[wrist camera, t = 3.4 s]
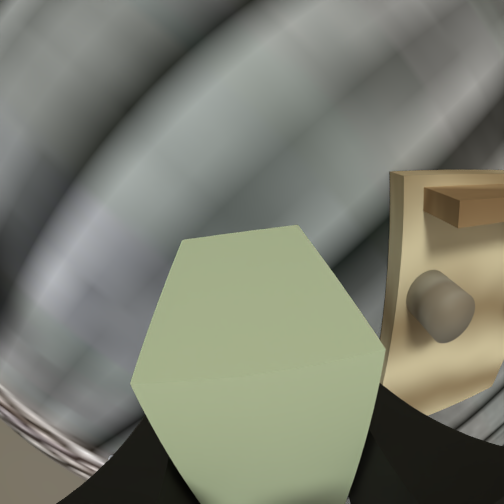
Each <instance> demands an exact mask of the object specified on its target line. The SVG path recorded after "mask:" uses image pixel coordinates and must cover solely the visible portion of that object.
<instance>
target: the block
mask: <svg viewBox="0 0 504 504" xmlns="http://www.w3.org/2000/svg"><path fill="white" fill-rule="evenodd" d="M385 351H386V349H385V347H384V346H383V344H382V343H381V341H380V340H379V338H378V337H377V335H376V334H375V332H374V331H373V329H372V328H371V326H370V325H369V324H368V322H367V321H366V319H365V318H364V316H363V315H362V313H361V312H360V310H359V309H358V308H357V306H356V305H355V303H354V302H353V300H352V299H351V297H350V296H349V295H348V293H347V292H346V290H345V289H344V288H343V286H342V285H341V283H340V282H339V280H338V279H337V278H336V276H335V275H334V274H333V272H332V271H331V269H330V268H329V267H328V265H327V264H326V262H325V261H324V260H323V258H322V257H321V256H320V254H319V253H318V251H317V250H316V249H315V247H314V246H313V245H312V243H311V242H310V241H309V239H308V238H307V237H306V235H305V234H304V233H303V231H302V230H301V229H300V227H299V226H298V225H293V226H284V227H276V228H269V229H261V230H253V231H245V232H238V233H230V234H223V235H215V236H208V237H201V238H193V239H186V240H182V242H181V244H180V247H179V249H178V252H177V254H176V257H175V259H174V262H173V264H172V267H171V270H170V272H169V275H168V277H167V280H166V282H165V285H164V288H163V290H162V293H161V296H160V298H159V301H158V304H157V307H156V309H155V312H154V315H153V318H152V320H151V323H150V326H149V329H148V332H147V334H146V337H145V340H144V343H143V346H142V349H141V352H140V355H139V358H138V361H137V364H136V367H135V370H134V373H133V376H132V379H131V383H130V384H131V386H132V388H133V390H134V393H135V395H136V397H137V399H138V401H139V403H140V405H141V407H142V408H143V410H144V412H145V414H146V416H147V418H148V420H149V422H150V424H151V425H152V427H153V429H154V431H155V433H156V434H157V436H158V438H159V440H160V441H161V443H162V445H163V447H164V448H165V450H166V452H167V453H168V455H169V457H170V458H171V460H172V462H173V463H174V465H175V466H176V468H177V470H178V471H179V473H180V474H181V476H182V477H183V479H184V480H185V482H186V483H187V485H188V486H189V488H190V489H191V491H192V492H193V494H194V495H195V497H196V498H197V499H198V501H199V502H200V504H345V502H346V500H347V497H348V494H349V491H350V488H351V486H352V483H353V480H354V477H355V474H356V471H357V467H358V464H359V461H360V458H361V455H362V451H363V448H364V444H365V441H366V437H367V433H368V430H369V426H370V422H371V418H372V414H373V410H374V406H375V401H376V397H377V392H378V388H379V383H380V378H381V373H382V368H383V362H384V357H385Z"/></svg>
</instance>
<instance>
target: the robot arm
mask: <svg viewBox="0 0 504 504" xmlns="http://www.w3.org/2000/svg"><path fill="white" fill-rule="evenodd" d="M349 498H350V503H351V504H504V446H499V445H495V444H492V443H489V442H486V441H483V440H480V439H477V438H474V437H471V436H469V435H466V434H464V433H461V432H459V431H457V430H455V429H452V428H450V427H448V426H446V425H444V424H441V423H440V422H438V421H436V420H434V419H432V418H430V417H428V416H427V415H425V414H423V413H422V412H420V411H418V410H417V409H415V408H414V407H412V406H411V405H409V404H408V403H406V402H405V401H403V400H402V399H401V398H399V397H398V396H396V395H395V394H394V393H392V392H391V391H390V390H388V389H387V388H386V387H385V386H383V385H382V384H381V383H379V388H378V392H377V397H376V401H375V406H374V410H373V414H372V418H371V422H370V426H369V430H368V433H367V437H366V441H365V444H364V448H363V451H362V455H361V458H360V461H359V464H358V467H357V471H356V474H355V477H354V480H353V483H352V486H351V488H350V491H349ZM57 504H200V502H199V501H198V499H197V498H196V497H195V495H194V494H193V492H192V491H191V489H190V488H189V486H188V485H187V483H186V482H185V480H184V479H183V477H182V476H181V474H180V473H179V471H178V470H177V468H176V466H175V465H174V463H173V462H172V460H171V458H170V457H169V455H168V453H167V452H166V450H165V448H164V447H163V445H162V443H161V441H160V440H159V438H158V436H157V434H156V433H155V431H154V429H153V427H152V425H151V424H150V422H149V420H148V418H147V416H146V414H145V416H144V417H143V418H142V420H141V421H140V423H139V424H138V425H137V427H136V428H135V429H134V431H133V432H132V433H131V435H130V436H129V437H128V438H127V440H126V441H125V442H124V443H123V445H122V446H121V447H120V448H119V449H118V450H117V451H116V453H115V454H114V455H110V456H109V458H108V461H107V462H106V463H105V464H104V465H103V466H102V467H101V468H100V469H99V470H98V471H97V472H96V473H95V474H94V475H93V476H92V477H90V478H89V479H88V480H87V481H86V482H85V483H84V484H82V485H81V486H80V487H79V488H77V489H76V490H74V491H73V492H72V493H71V494H69V495H68V496H67V497H65V498H64V499H62V500H61V501H60V502H58V503H57Z"/></svg>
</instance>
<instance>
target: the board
mask: <svg viewBox="0 0 504 504" xmlns="http://www.w3.org/2000/svg"><path fill="white" fill-rule="evenodd" d="M380 341H381V343H382V344H383V346H384V347H385V349H386V351H385V357H384V362H383V368H382V373H381V378H380V383H381V384H382V385H383V386H385V387H386V388H387V389H388V390H390V391H391V392H392V393H394V394H395V395H396V396H398V397H399V398H401V399H402V400H403V401H405V402H406V403H408V404H409V405H411V406H412V407H414V408H415V409H417V410H418V411H420V412H422V413H423V414H425V415H427V416H428V415H430V414H433V413H435V412H438V411H440V410H442V409H445V408H447V407H449V406H452V405H454V404H456V403H459V402H461V401H463V400H465V399H467V398H469V397H471V396H474V395H476V394H478V393H480V392H482V391H484V390H486V389H488V388H490V387H491V386H492V384H493V382H494V380H495V378H496V376H497V374H498V371H499V369H500V367H501V364H502V362H503V360H504V170H418V171H392V172H390V232H389V254H388V270H387V283H386V294H385V304H384V313H383V321H382V329H381V336H380Z"/></svg>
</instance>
